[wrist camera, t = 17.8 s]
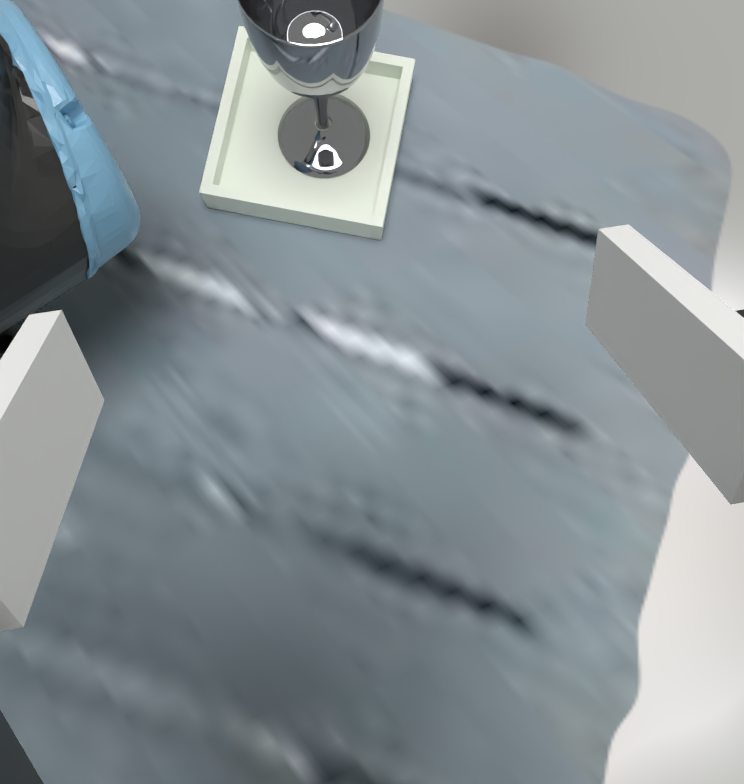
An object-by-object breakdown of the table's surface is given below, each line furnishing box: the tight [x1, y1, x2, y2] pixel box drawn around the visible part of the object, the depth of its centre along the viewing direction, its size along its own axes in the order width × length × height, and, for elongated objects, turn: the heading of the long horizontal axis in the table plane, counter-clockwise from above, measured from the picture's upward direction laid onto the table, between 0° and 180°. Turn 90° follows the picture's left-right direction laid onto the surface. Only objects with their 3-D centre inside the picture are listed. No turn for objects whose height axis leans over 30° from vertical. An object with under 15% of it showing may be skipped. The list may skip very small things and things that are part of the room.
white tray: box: [199, 26, 415, 240], centre depth 46 cm, size 14×14×2 cm
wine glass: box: [237, 0, 384, 179], centre depth 39 cm, size 8×8×15 cm
